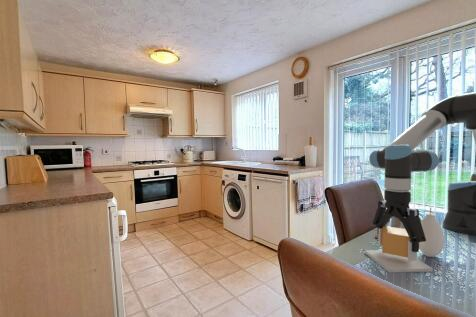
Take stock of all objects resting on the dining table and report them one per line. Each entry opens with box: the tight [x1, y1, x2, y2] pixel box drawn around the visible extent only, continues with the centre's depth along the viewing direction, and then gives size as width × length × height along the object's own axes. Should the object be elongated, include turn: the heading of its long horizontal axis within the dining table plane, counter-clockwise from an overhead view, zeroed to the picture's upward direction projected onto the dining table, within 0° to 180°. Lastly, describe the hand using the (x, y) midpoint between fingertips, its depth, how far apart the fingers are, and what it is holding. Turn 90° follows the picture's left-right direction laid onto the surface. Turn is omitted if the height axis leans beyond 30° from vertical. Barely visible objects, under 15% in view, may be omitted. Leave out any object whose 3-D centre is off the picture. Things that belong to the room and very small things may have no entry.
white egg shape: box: [419, 206, 445, 258], centre depth 86 cm, size 8×8×18 cm
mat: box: [364, 249, 434, 273], centre depth 82 cm, size 14×14×1 cm
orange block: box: [381, 225, 410, 258], centre depth 82 cm, size 8×8×7 cm
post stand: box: [374, 216, 402, 239], centre depth 99 cm, size 11×11×11 cm
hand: (396, 252), depth 82 cm, fingers closed on orange block, 11 cm apart
